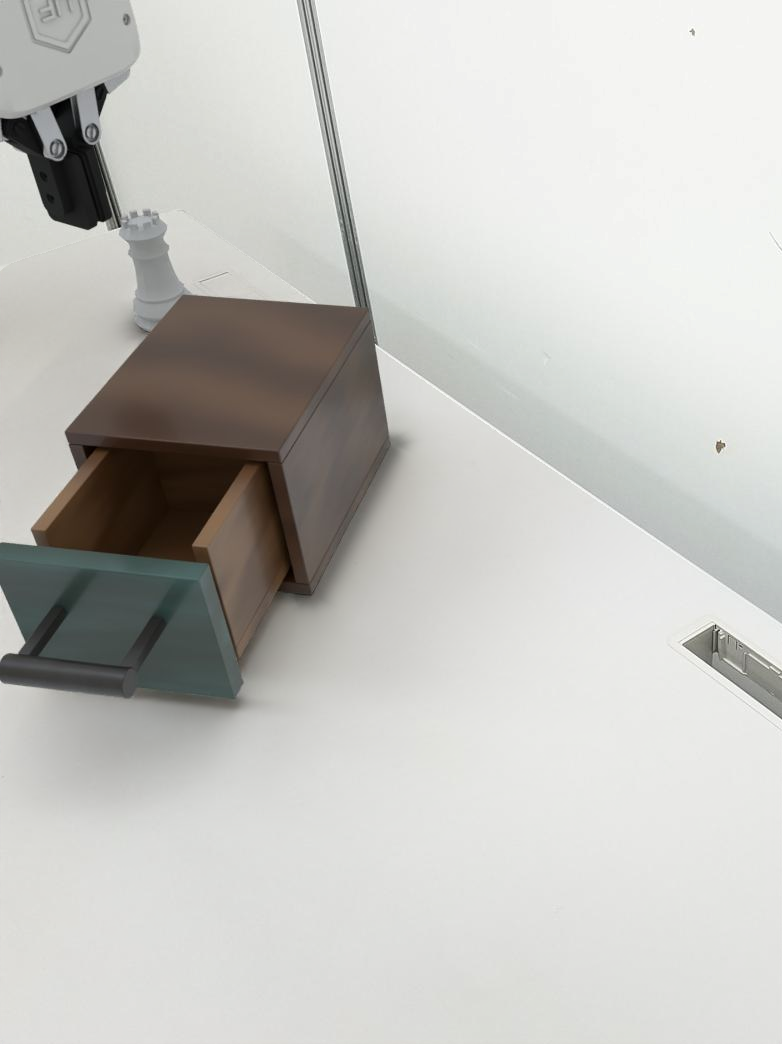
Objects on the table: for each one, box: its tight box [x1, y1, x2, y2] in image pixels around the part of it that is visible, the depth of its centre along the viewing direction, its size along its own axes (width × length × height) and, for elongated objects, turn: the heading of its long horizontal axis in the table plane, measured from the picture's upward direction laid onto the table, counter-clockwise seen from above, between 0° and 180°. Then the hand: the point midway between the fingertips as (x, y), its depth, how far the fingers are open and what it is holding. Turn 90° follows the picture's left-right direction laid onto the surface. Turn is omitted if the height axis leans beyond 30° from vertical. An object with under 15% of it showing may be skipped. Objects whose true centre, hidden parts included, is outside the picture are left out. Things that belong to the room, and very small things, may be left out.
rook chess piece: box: [118, 208, 193, 333], centre depth 90 cm, size 4×4×8 cm
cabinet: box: [64, 294, 391, 596], centre depth 72 cm, size 15×12×10 cm
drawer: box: [0, 446, 292, 700], centre depth 64 cm, size 18×10×8 cm, turn 170°
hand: (81, 218), depth 69 cm, fingers closed
